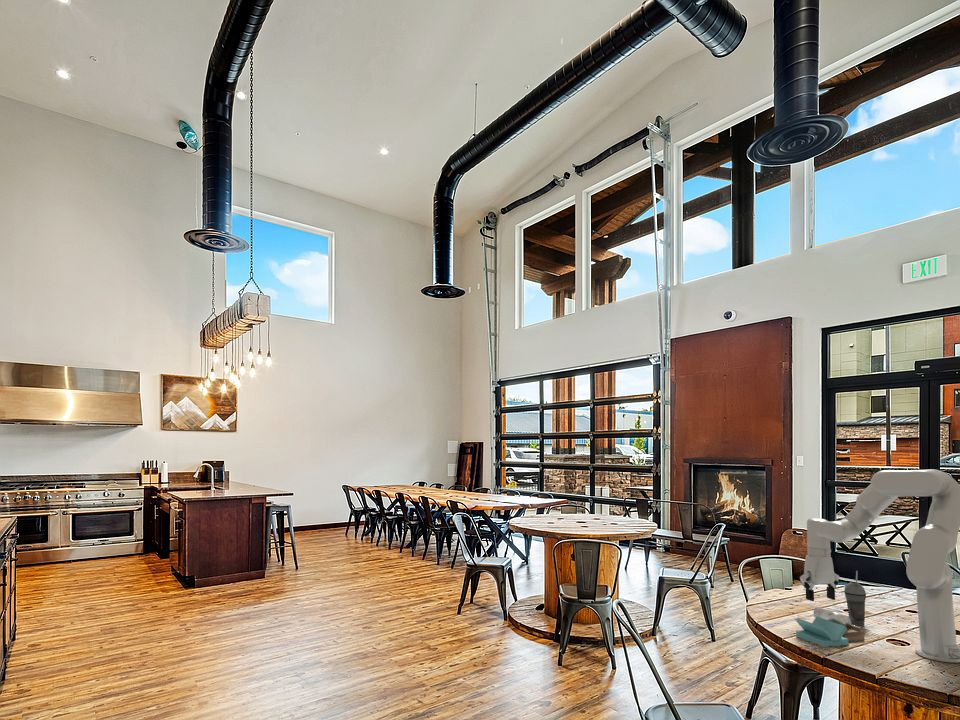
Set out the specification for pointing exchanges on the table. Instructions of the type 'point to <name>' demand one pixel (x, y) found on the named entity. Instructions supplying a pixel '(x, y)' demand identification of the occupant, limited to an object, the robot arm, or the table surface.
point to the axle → (832, 616)
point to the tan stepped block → (854, 633)
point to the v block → (822, 632)
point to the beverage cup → (855, 602)
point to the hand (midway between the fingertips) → (820, 599)
